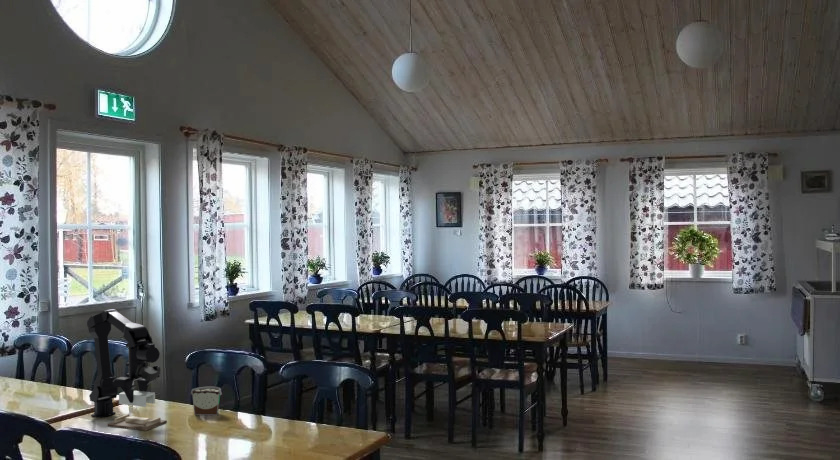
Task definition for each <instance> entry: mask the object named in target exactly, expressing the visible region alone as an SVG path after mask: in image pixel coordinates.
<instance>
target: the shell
mask: <svg viewBox="0 0 840 460" xmlns="http://www.w3.org/2000/svg"><path fill="white" fill-rule="evenodd" d="M155 403H156V392H151V391H146V392H144V391H139V390H134V396H133V403H130V402H129V400H128V398H127V396H126V394H125V393H124V391H122V392H120V393H118V405H126V406H134V407H135V406H136V407H143V408H145V407H147V404H155Z"/></svg>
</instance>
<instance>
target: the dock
mask: <svg viewBox="0 0 840 460" xmlns="http://www.w3.org/2000/svg"><path fill="white" fill-rule="evenodd" d="M167 422H168V421H167V420H166V419H165V420H164V419H161V417H160V416H159V417H155V418H150V417H144V416H143V417H142V416H141V417H140V416H133V415H130V413H126V414H124V415H121V416H119V417H116V418H113V421H112V422H109V423H107V427H112V428H113V427H114V428H121V429H128V430H138V431H149V430H152V429H154V428H156V427H159V426H161V425H164V424H167Z"/></svg>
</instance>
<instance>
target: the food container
mask: <svg viewBox="0 0 840 460" xmlns="http://www.w3.org/2000/svg"><path fill="white" fill-rule="evenodd" d="M190 395H192V403H193V412H194V414H195V416H218V415H219V409H220V398H221V395H223V393H222V389H221V387H219V386H201V387H200V386H199V387H195V388H192V389H191V391H190Z"/></svg>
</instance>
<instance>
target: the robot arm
mask: <svg viewBox="0 0 840 460" xmlns="http://www.w3.org/2000/svg"><path fill="white" fill-rule="evenodd" d="M86 326H87V329H88V334H90V336H91V337H92V338H93V340H94V341H93V342H94V351H95V358H96V359H95V361H96V370H97V376H96V378H95V380H94V382H93V389H92V390H91V392H90V394H89V395H88V397H89V400H90V402H93V403H94V405H93V409H94V410H93V412H94V413H92V414H91V415H90V416H91V417H94V418H97V417H98V418H106V417H109V416H113V415H115V414H116V411H114V402H113V399H117V397H118V392H119V388H120V389H121V390H122V392H124V393H125V394H126V396H127V398H128V400H129V402H130V403H133V396H134V391H135V388H137V385H138V391H144V392H148V388H149V386H150V384H151V383H152V382H154V381H155V380H157V379H159V378H160V376H161V366H159V365H154V366H149V363H156V362H157V361H158V360H159V358H160V354H161V353H160V351H159V349H158V348H157V347H155V343H154V342H153V338H152V336H151V335H150V332H149V330H148V329H147V327H146V326H145V325H142V324H141V323H135V322H132V321H131V320H130V319H128V318H127V317H126V316H124V315H123V314H121V313H120V312H119V311H118V309H114V308H112V309H106V310H103V311H102V312H100V313H98V314H95V315H93V316H92V315H91V316H90V317H89V318H88V319H87V322H86ZM112 326H113V327H114V328H116V329H118V330H119V332H121V333H123V335H122V336H123V338H124V339H125V340H126V341H127V343H126V344H125V348H128V350H127V351H128V361H127V362H126V363H125V366H127V367H128V373H126V374H125V376H120V377H117V376H114V374H113V372H112V368H111V357H110V356H111V355H110V347H109V335H110V333H111V331H112ZM135 382H137V385H136V384H135Z"/></svg>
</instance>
